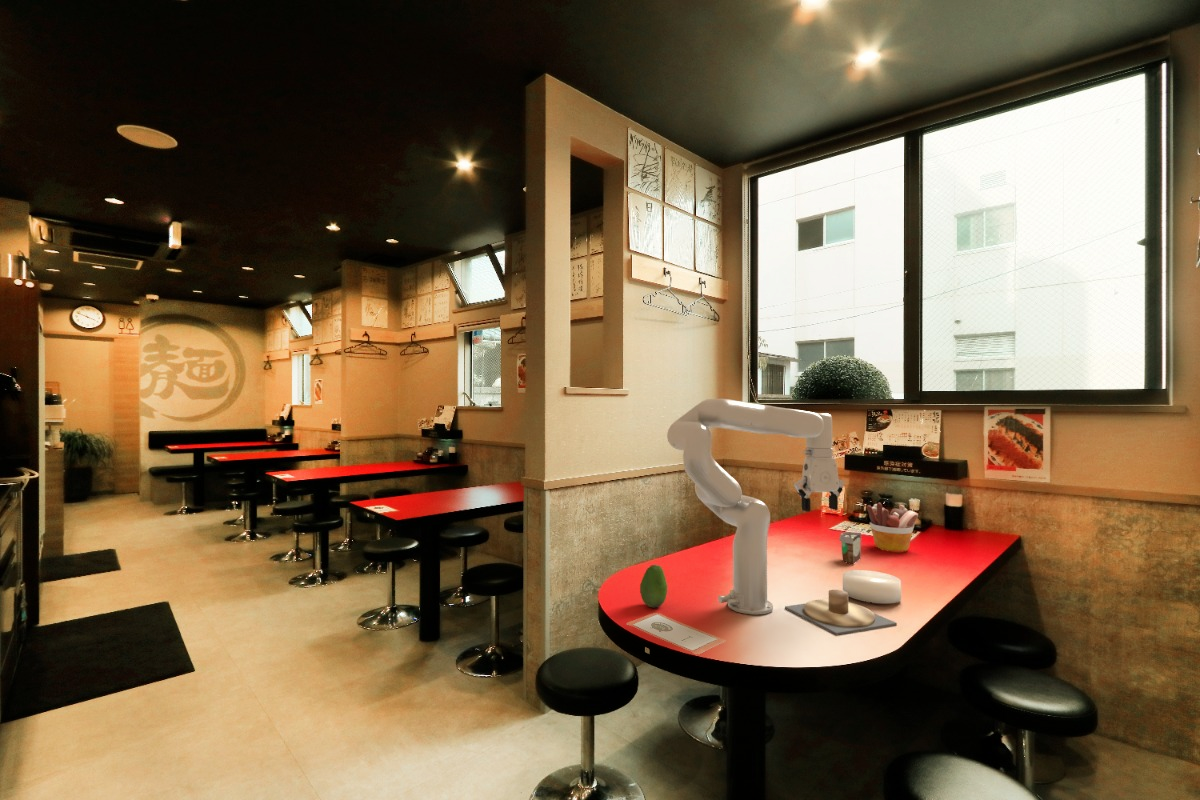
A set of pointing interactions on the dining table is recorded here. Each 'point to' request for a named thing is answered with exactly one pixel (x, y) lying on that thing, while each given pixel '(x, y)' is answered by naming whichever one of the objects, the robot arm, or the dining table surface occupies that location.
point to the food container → (851, 546)
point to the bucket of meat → (891, 527)
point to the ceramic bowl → (872, 586)
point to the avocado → (653, 586)
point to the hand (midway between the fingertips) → (819, 510)
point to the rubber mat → (841, 630)
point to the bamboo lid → (839, 611)
